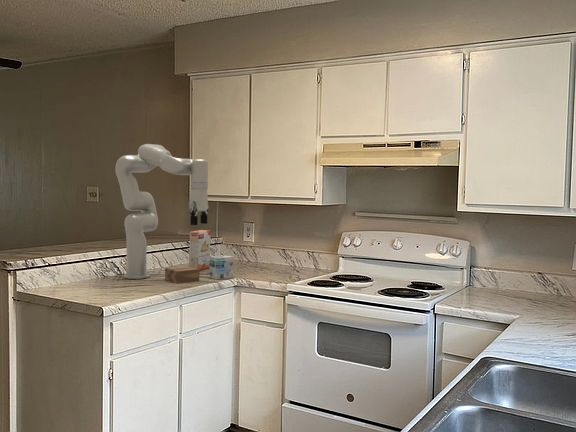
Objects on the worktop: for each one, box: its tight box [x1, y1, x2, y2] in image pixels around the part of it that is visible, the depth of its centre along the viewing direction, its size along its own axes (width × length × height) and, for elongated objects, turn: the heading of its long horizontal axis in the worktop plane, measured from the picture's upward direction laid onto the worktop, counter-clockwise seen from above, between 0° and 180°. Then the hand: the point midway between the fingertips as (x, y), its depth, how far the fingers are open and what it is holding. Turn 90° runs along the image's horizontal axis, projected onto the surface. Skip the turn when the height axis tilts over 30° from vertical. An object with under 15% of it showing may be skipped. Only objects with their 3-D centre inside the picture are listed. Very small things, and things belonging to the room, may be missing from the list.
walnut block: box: [164, 265, 201, 284], centre depth 288 cm, size 12×12×6 cm
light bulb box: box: [208, 254, 235, 280], centre depth 298 cm, size 11×7×11 cm, turn 127°
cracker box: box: [188, 229, 211, 271], centre depth 324 cm, size 14×6×21 cm, turn 161°
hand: (199, 224), depth 272 cm, fingers open, 9 cm apart
